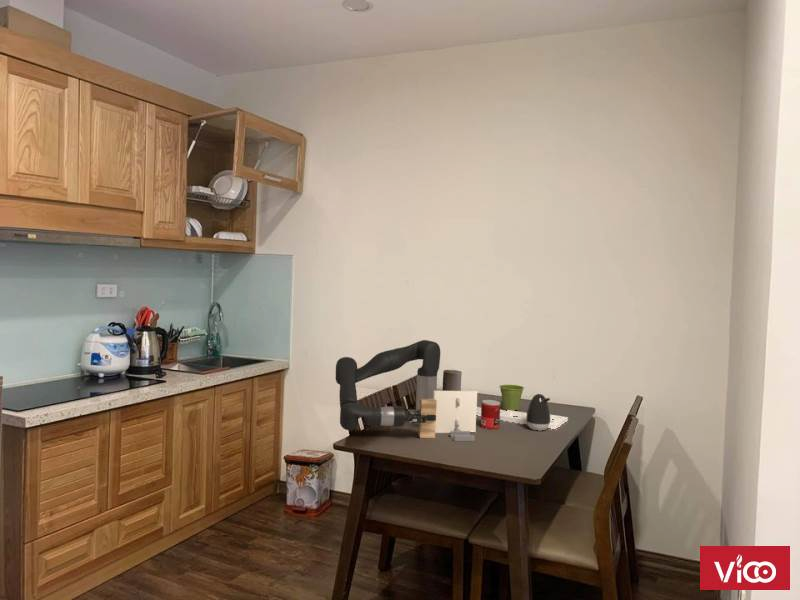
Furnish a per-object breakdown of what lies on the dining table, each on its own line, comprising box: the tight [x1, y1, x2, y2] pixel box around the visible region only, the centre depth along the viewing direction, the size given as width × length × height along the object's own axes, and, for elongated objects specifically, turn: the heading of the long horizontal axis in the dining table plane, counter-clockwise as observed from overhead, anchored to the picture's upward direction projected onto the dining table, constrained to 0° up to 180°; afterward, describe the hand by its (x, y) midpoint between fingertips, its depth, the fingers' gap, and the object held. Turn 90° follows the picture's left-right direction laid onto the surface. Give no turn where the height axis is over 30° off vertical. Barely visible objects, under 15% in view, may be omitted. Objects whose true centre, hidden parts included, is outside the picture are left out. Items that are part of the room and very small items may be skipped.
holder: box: [476, 406, 569, 430], centre depth 282 cm, size 45×18×3 cm, turn 58°
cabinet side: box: [433, 390, 478, 442], centre depth 246 cm, size 14×18×17 cm
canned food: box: [480, 399, 501, 430], centre depth 263 cm, size 8×8×11 cm
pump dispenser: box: [526, 393, 551, 432], centre depth 262 cm, size 10×10×15 cm
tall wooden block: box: [417, 399, 437, 439], centre depth 243 cm, size 4×6×15 cm, turn 100°
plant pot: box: [499, 384, 525, 411], centre depth 298 cm, size 12×12×11 cm
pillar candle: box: [441, 368, 463, 391], centre depth 323 cm, size 10×10×15 cm
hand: (434, 416), depth 243 cm, fingers open, 4 cm apart
